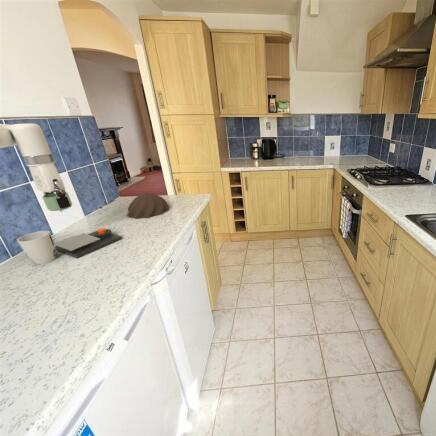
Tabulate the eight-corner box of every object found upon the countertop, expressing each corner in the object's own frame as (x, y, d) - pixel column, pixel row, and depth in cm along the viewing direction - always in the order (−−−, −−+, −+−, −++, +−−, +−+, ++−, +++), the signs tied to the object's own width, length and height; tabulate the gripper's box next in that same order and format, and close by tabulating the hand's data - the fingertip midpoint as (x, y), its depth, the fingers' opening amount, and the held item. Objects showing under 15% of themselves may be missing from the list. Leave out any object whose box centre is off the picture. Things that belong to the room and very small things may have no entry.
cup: (64, 257, 89) (53, 233, 85) (35, 269, 83) (21, 243, 79) (56, 252, 93) (44, 228, 89) (27, 262, 87) (13, 238, 83)
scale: (56, 249, 95) (52, 243, 94) (101, 232, 108) (99, 226, 107) (77, 258, 88) (74, 251, 87) (123, 239, 102) (121, 232, 100)
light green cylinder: (66, 203, 99) (61, 190, 97) (76, 206, 96) (71, 192, 94) (44, 209, 93) (38, 196, 91) (54, 212, 90) (47, 198, 88)
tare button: (96, 233, 101) (95, 230, 100) (104, 230, 103) (103, 227, 103) (100, 235, 100) (99, 231, 99) (108, 232, 102) (107, 228, 101)
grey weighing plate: (53, 244, 92) (53, 244, 92) (83, 233, 101) (83, 233, 100) (70, 251, 87) (69, 250, 87) (100, 239, 96) (99, 238, 95)
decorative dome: (138, 206, 138) (133, 189, 134) (174, 204, 140) (170, 187, 136) (120, 219, 121) (114, 201, 117) (161, 217, 122) (156, 198, 118)
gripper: (15, 160, 88) (36, 206, 95) (38, 163, 81) (60, 212, 88) (41, 157, 94) (60, 200, 101) (65, 159, 87) (83, 205, 94)
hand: (60, 205), depth 94 cm, fingers closed on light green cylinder, 7 cm apart
